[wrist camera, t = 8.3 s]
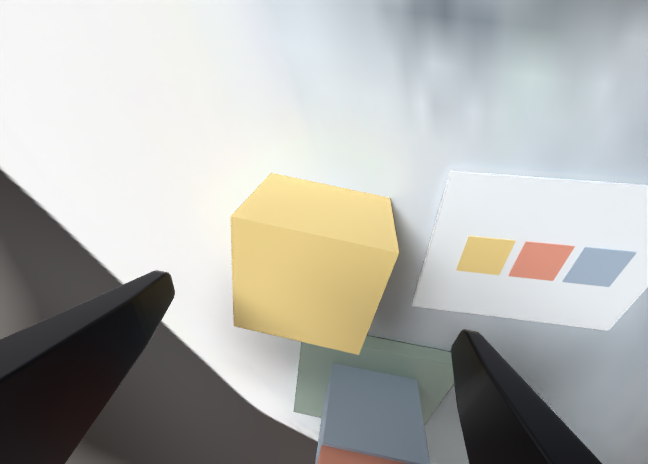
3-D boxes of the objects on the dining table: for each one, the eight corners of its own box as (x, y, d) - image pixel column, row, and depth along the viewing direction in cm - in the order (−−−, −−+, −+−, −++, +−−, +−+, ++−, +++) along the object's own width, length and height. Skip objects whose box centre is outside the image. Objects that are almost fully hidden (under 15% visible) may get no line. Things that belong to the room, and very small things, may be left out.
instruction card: (725, 190, 9) (734, 193, 9) (605, 327, 13) (609, 331, 12) (449, 170, 10) (451, 173, 10) (411, 303, 14) (412, 307, 13)
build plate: (460, 353, 15) (465, 367, 14) (414, 425, 20) (415, 438, 19) (305, 323, 16) (302, 335, 15) (296, 400, 20) (293, 411, 20)
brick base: (416, 379, 16) (430, 465, 12) (395, 419, 18) (401, 498, 15) (332, 362, 16) (323, 442, 13) (323, 404, 19) (313, 478, 15)
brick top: (389, 196, 11) (399, 252, 8) (361, 284, 14) (358, 355, 10) (272, 171, 11) (230, 216, 8) (266, 263, 14) (233, 326, 10)
